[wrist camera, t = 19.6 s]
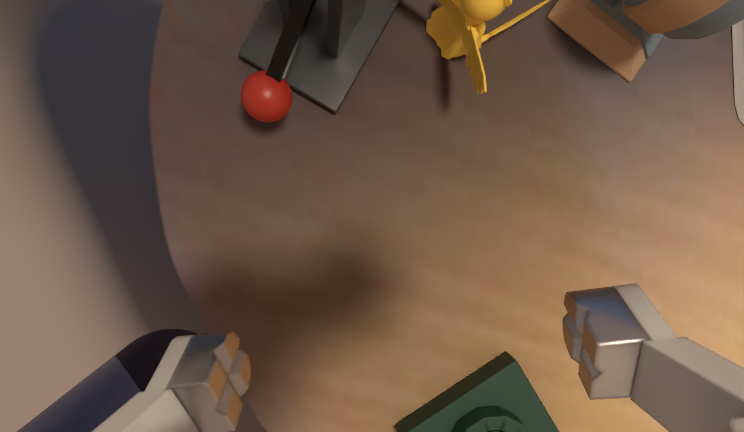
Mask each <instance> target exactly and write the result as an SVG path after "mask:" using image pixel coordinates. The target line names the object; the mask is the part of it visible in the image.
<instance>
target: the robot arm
mask: <svg viewBox="0 0 744 432" xmlns="http://www.w3.org/2000/svg"><path fill="white" fill-rule="evenodd" d="M564 306H565V308H566V310H567V312H568V313H567V314H566V315H565V316H564V317H563V334H564V340H565V343H566V347H567V350H568V352H569V354H570V356H571V358H572V359H573V360H575V361H576V362H578V363H579V373H578V374H579V377H580V379H581V381H582V383H583V385H584V388H585V390H586V392H587V394H588V396H589V399H590V400H594V399H611V398H627V397H631V400H632V401H633V402H634V403H636V404H637V405H638V406H639V407H640V408H642V409H643V410H644V411H645V412H646V413H648V414H649V415H650V416H651V417H653V418H654V419H655V420H656V421H657V422H659V423H660V424H661V425H662V426H663V427H665V428H666V429H667V430H668V431H669V432H744V368H743V367H741V366H739V365H737V364H735V363H733V362H731V361H730V360H728V359H726V358H724V357H722V356H720V355H718V354H716V353H715V352H713V351H711V350H709V349H707V348H705V347H703V346H701V345H700V344H698V343H696V342H694V341H692V340H690V339H688V338H687V337H677V336H676V334H675V333H674V332H673V330H672V329H671V328H670V326H669V325H668V324H667V322H666V321H665V320H664V318H663V317H662V316H661V314H660V313H659V312H658V310H657V309H656V307H655V306H654V305H653V303H652V302H651V301H650V299H649V298H648V297H647V295H646V294H645V293H644V291H643V290H642V289H641V287H640V286H638V285H637V284H627V285H619V286H612V287H603V288H595V289H587V290H579V291H571V292H566V295H565V298H564ZM239 343H240V339H239V338H238V336H237V334H236V332H232V331H228V332H217V333H206V334H195V335H188V336H177V337H176V338H174V339H173V340H172V341H171V343H170V344H169V346H168V348H167V350H166V352H165V354H164V356H163V358H162V360H161V361H160V363H159V365H158V367H157V369H156V371H155V373H154V375H153V376H152V378H151V380H150V382H149V384H148V386H147V388H146V390H145V391H144V392H138V393H137V394H136V395H135V396H134V397H132V398H131V399H130V400H129V401H128V402H126V403H125V404H124V405H123V406H122V407H120V408H119V409H118V410H117V411H116V412H115V413H113V414H112V415H111V416H110V417H109V418H107V419H106V420H105V421H104V422H103V423H101V424H100V425H99V426H98V427H97V428H95V429H94V430H93V431H92V432H230V431H236V428H237V424H238V421H239V418H240V414H241V411H242V408H243V405H242V402H241V400H240V397H241V396H242V395H243V394H244V393H245V392H246V391H247V390H248V388H249V384H250V381H251V364H250V360H249V357H248V355H247V353H246V352H244V351H243V350H241V349H240V348H238V346H239Z"/></svg>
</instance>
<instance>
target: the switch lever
mask: <svg viewBox="0 0 744 432" xmlns="http://www.w3.org/2000/svg"><path fill="white" fill-rule="evenodd" d="M316 1H317V0H294V1H293V4H292V6H291V9H290V12H289V14H288V17H287V19H286V22H285V25H284V27H283V30H282V33H281V35H280V38H279V40H278V43H277V46H276V48H275V51H274V53H273V56H272V59H271V61H270V64H269V67H268V69H267V70H263V71H258V72H255V73H253V74H251V75H250V76H249V77H248V78H247V79H246V80H245V82H244V83H243V86H242V89H241V101H242V104H243V106H244V108H245V110H246V111H247V113H248V114H249V115H250V116H252V117H253V118H254V119H256V120H258V121H262V122H275V121H278V120H280V119H281V118H283V117H284V116H285V115H286V114H287V113H288V111H289V110H290V108H291V105H292V91H291V88H290V86H289V84H288V83H287V81H286V80H285V79H284V78H285V76H286V73H287V71H288V68H289V66H290V64H291V61H292V59H293V56H294V54H295V51H296V49H297V47H298V44H299V42H300V39H301V37H302V34H303V32H304V30H305V27H306V25H307V22H308V20H309V18H310V15H311V13H312V10H313V8H314V5H315V3H316Z"/></svg>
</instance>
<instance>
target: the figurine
mask: <svg viewBox="0 0 744 432" xmlns="http://www.w3.org/2000/svg"><path fill="white" fill-rule="evenodd" d="M436 1H438V2H440V4H441V5H442V6H441V7H438V8H437V9H436V10H435V11H433V12H432V15H431V18H429V19H428V20H427V24H426V32H427V33H428V34H429V35H430V36H431V37H432V38H433V39H434V40H435V41H436V44H437V46H438V47H440V48H441V55H442V57H444V58H446V59H448V60H449V59H451V58H452V57H459V56H462V55H466V62H467V64H466V67H467V66H468V67H469V73H470V77H471V76H472V81H473V85H475V86H476V91H477V93H479V92H480V94H482V92H486V91H487V89H486V76H485V72H484V68H483V64H482V61H481V57H480V53H479V49H480V48H481V47H482V43H483V42H484V41H486V40H488V38H489V37H491V36H493V35H495V34H497V33H499V32H501V31H502V30H504V29H506V28H508V27H510V26H511V25H513V24H514V23H516V22H518V21H519V20H521V19H522V18H524V17H526V16H527V15H529V14H530V13H532V12H534V11H535V10H537V9H538V8H540V7H541V6H543V5H545V4H546V3H548V2H549V1H551V0H546V1H544V2H542V3H541V4H539V5H537V6H535V7H533V8H532V9H530V10H528V11H526V12H524V13H523V14H521V15H519V16H517V17H516V18H514V19H512V20H510V21H508V22H507V23H505V24H503V25H502V26H500V27H499V28H497V29H495V30H494V31H492V32H490V33H489V34H485V35H483V34H484V32H485V29H486V26H485V21H487V20H491V19H493V18H495V17H497V16H498V15H499V14H501V12H502V11H503V10H504V9H505V7H506V6H509V5H511V4H512V0H436ZM482 35H483V36H482Z"/></svg>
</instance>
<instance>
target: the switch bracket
mask: <svg viewBox="0 0 744 432" xmlns="http://www.w3.org/2000/svg"><path fill="white" fill-rule="evenodd" d="M293 1H294V0H269V1H268V3H267V4H266V6H265V8H264V10H263V11H262V13H261V15H260V17H259V18H258V20H257V22H256V24H255V25H254V27H253V29H252V31H251V32H250V34H249V36H248V38H247V39H246V41H245V43H244V45H243V47H242V48H241V50H240V52H239V56H240V57H241V59H243V60H245V61H246V62H248V63H250V64H251V65H253V66H255V67H256V68H258V69H260V70H261V71H263V70H267V69H268V67H269V64H270V61H271V59H272V56H273V53H274V51H275V48H276V46H277V43H278V40H279V38H280V35H281V33H282V30H283V27H284V25H285V22H286V19H287V17H288V14H289V12H290V9H291V6H292V4H293ZM399 2H400V0H317V1H316V3H315V5H314V8H313V10H312V13H311V15H310V18H309V20H308V22H307V25H306V27H305V30H304V32H303V34H302V37H301V39H300V42H299V44H298V47H297V49H296V51H295V54H294V56H293V59H292V61H291V64H290V66H289V68H288V71H287V73H286V76H285V78H284V79H285V80H286V81H287V83H288V84H289V86H290V88H292V89H293V90H295V91H297V92H298V93H300V94H302V95H303V96H305V97H307V98H309V99H310V100H312V101H314V102H315V103H317V104H319V105H320V106H322V107H324V108H325V109H327V110H329V111H330V112H332V113H334V114H336V113H337V111H338V110H339V108H340V106H341V104H342V103H343V101H344V99H345V97H346V95H347V94H348V92H349V90H350V88H351V87H352V85H353V83H354V81H355V80H356V78H357V76H358V74H359V73H360V71H361V69H362V67H363V66H364V64H365V62H366V60H367V59H368V57H369V55H370V53H371V51H372V50H373V48H374V46H375V44H376V43H377V41H378V39H379V37H380V36H381V34H382V32H383V30H384V29H385V27H386V25H387V23H388V22H389V20H390V18H391V16H392V15H393V13H394V11H395V9H396V8H397V6H398V4H399Z"/></svg>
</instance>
